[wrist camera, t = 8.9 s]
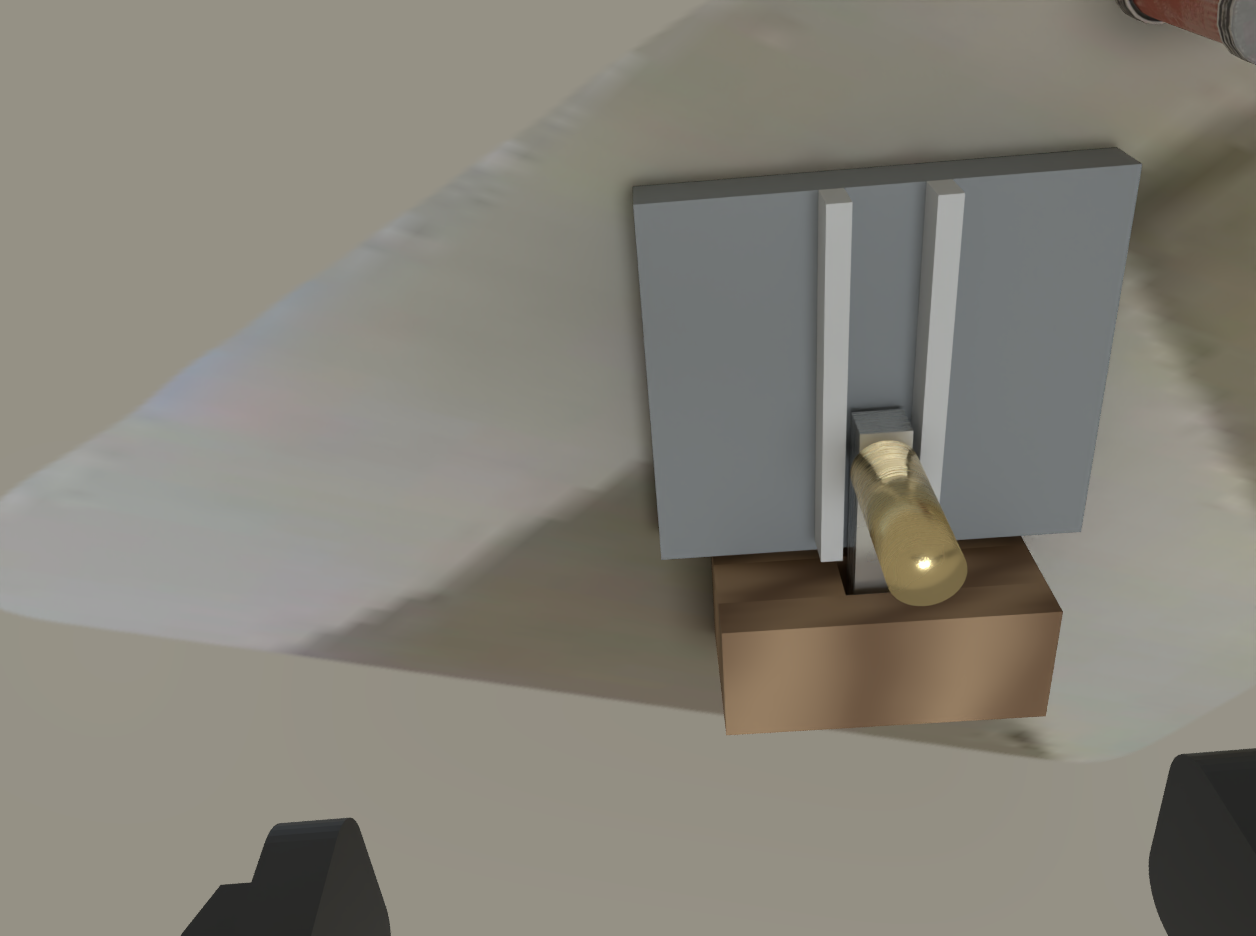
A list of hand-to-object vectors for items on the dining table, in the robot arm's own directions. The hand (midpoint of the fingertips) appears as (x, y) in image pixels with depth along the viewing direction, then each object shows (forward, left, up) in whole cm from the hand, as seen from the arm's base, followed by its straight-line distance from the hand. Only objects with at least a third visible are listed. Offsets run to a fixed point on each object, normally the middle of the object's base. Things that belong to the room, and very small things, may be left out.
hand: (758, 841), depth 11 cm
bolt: (-7, +14, -26) cm, 30 cm away
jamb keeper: (-7, +19, -28) cm, 35 cm away
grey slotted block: (-7, +9, -28) cm, 30 cm away
